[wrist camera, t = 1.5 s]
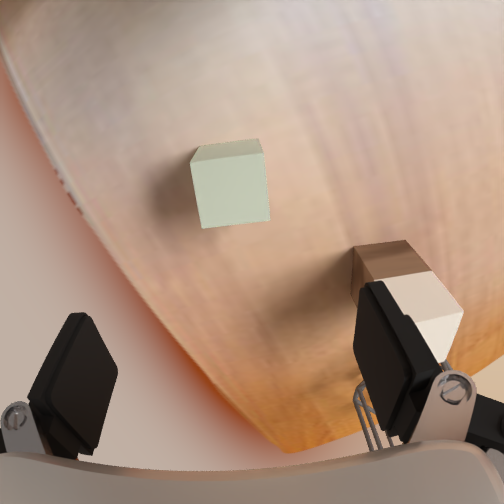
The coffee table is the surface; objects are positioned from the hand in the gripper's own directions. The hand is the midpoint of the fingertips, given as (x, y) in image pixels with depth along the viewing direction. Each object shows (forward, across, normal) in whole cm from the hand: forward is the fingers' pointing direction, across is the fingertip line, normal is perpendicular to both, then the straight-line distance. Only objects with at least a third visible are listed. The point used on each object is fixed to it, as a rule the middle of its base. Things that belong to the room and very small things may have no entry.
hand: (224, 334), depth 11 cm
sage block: (+20, 0, 0) cm, 20 cm away
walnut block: (+20, -14, +12) cm, 27 cm away
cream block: (+14, -14, +12) cm, 23 cm away
